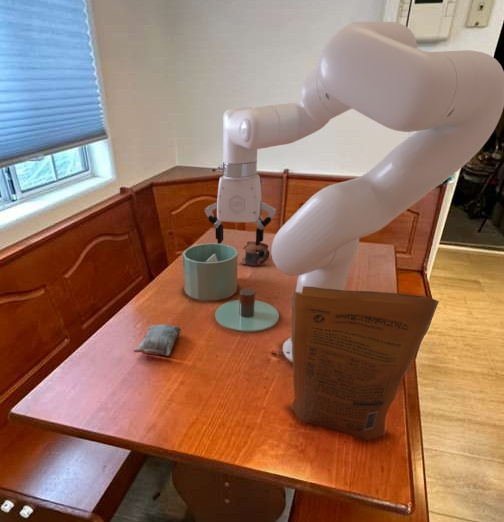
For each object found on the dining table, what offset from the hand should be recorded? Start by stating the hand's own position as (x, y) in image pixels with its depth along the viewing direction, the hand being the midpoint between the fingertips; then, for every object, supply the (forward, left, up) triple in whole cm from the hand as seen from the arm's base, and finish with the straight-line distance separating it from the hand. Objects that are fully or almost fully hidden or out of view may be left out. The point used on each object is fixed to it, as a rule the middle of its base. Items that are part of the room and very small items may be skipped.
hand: (239, 243), depth 100 cm
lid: (-3, -3, -19) cm, 19 cm away
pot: (+11, +11, -19) cm, 25 cm away
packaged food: (-23, +14, -20) cm, 33 cm away
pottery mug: (+35, +1, -20) cm, 40 cm away
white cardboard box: (+11, +11, -19) cm, 24 cm away
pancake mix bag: (-38, -27, -20) cm, 50 cm away
